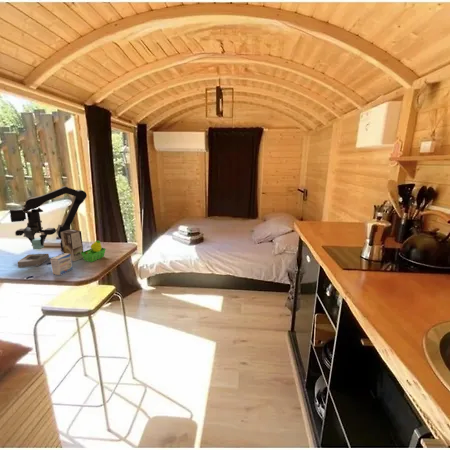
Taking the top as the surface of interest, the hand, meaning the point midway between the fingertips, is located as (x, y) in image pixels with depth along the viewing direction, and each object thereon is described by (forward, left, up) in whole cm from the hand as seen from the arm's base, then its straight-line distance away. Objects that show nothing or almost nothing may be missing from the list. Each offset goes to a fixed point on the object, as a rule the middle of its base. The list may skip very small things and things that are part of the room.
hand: (38, 245), depth 149 cm
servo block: (0, 0, -2) cm, 2 cm away
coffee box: (-22, +10, -5) cm, 25 cm away
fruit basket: (-34, +13, -6) cm, 37 cm away
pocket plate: (-3, +13, -5) cm, 14 cm away
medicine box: (-23, +29, -5) cm, 37 cm away
